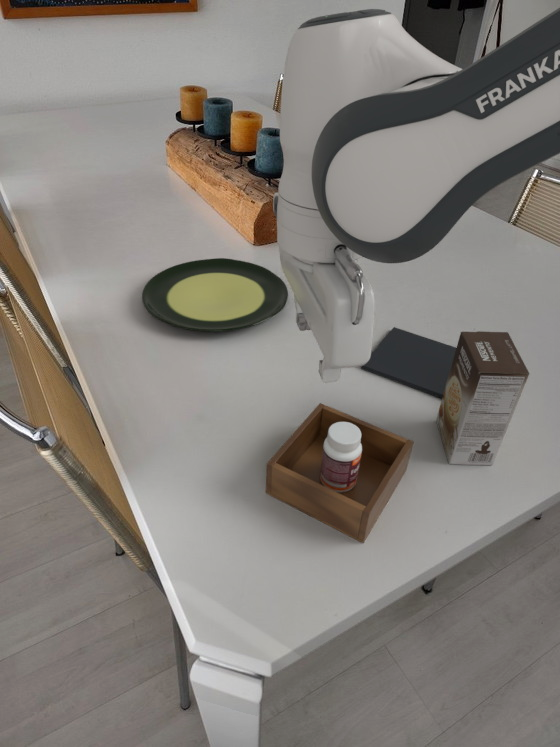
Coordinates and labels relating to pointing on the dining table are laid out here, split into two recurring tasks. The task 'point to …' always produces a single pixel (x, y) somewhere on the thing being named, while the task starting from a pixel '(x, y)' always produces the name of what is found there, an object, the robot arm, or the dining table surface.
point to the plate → (215, 295)
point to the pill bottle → (341, 457)
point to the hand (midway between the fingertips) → (315, 351)
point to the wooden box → (339, 510)
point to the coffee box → (480, 397)
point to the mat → (413, 361)
